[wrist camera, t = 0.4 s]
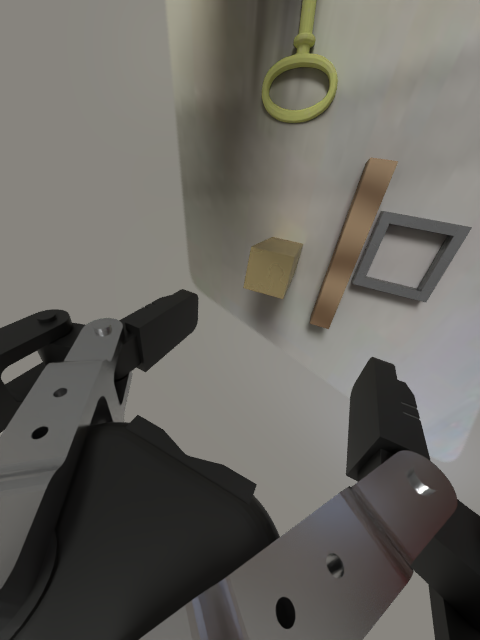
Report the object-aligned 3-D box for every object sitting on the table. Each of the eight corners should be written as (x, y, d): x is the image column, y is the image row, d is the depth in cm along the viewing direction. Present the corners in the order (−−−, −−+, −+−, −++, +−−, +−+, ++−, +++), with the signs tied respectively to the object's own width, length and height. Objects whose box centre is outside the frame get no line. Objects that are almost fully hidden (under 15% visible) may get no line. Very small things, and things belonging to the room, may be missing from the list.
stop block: (272, 237, 29) (251, 246, 21) (303, 244, 28) (294, 257, 20) (265, 267, 31) (243, 287, 22) (294, 274, 30) (282, 299, 22)
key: (327, -77, 18) (327, -108, 17) (338, 109, 23) (340, 101, 21) (245, -19, 21) (237, -40, 19) (269, 137, 26) (265, 132, 24)
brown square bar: (366, 162, 23) (370, 157, 21) (391, 166, 23) (398, 161, 21) (310, 316, 32) (309, 323, 30) (328, 321, 31) (328, 329, 29)
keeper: (381, 211, 25) (383, 211, 24) (465, 226, 23) (471, 227, 22) (351, 281, 28) (352, 283, 27) (422, 298, 27) (426, 302, 26)
